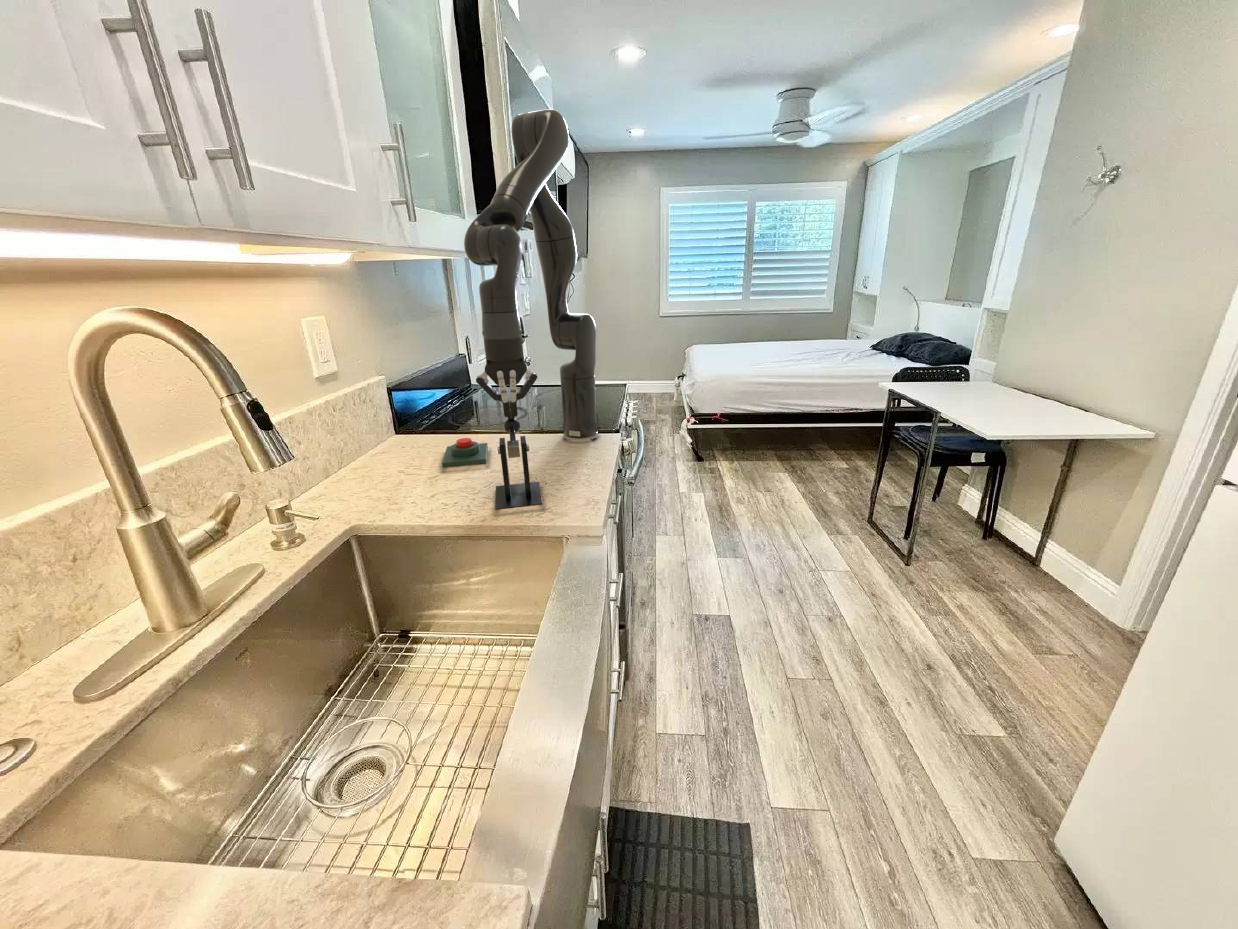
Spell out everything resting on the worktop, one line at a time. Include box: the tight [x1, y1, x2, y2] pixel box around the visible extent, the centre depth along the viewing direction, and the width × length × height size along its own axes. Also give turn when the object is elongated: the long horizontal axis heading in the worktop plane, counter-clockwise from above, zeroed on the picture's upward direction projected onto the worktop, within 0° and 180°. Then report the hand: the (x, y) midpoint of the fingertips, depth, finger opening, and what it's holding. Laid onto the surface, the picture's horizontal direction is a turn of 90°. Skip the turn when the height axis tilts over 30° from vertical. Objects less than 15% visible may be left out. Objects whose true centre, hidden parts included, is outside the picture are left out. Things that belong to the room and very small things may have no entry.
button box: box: [441, 440, 489, 469], centre depth 121 cm, size 12×10×4 cm
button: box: [455, 437, 473, 449], centre depth 120 cm, size 4×4×2 cm
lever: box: [503, 418, 521, 459], centre depth 101 cm, size 14×3×3 cm, turn 12°
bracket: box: [494, 435, 543, 511], centre depth 98 cm, size 11×9×13 cm
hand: (511, 418), depth 104 cm, fingers closed
